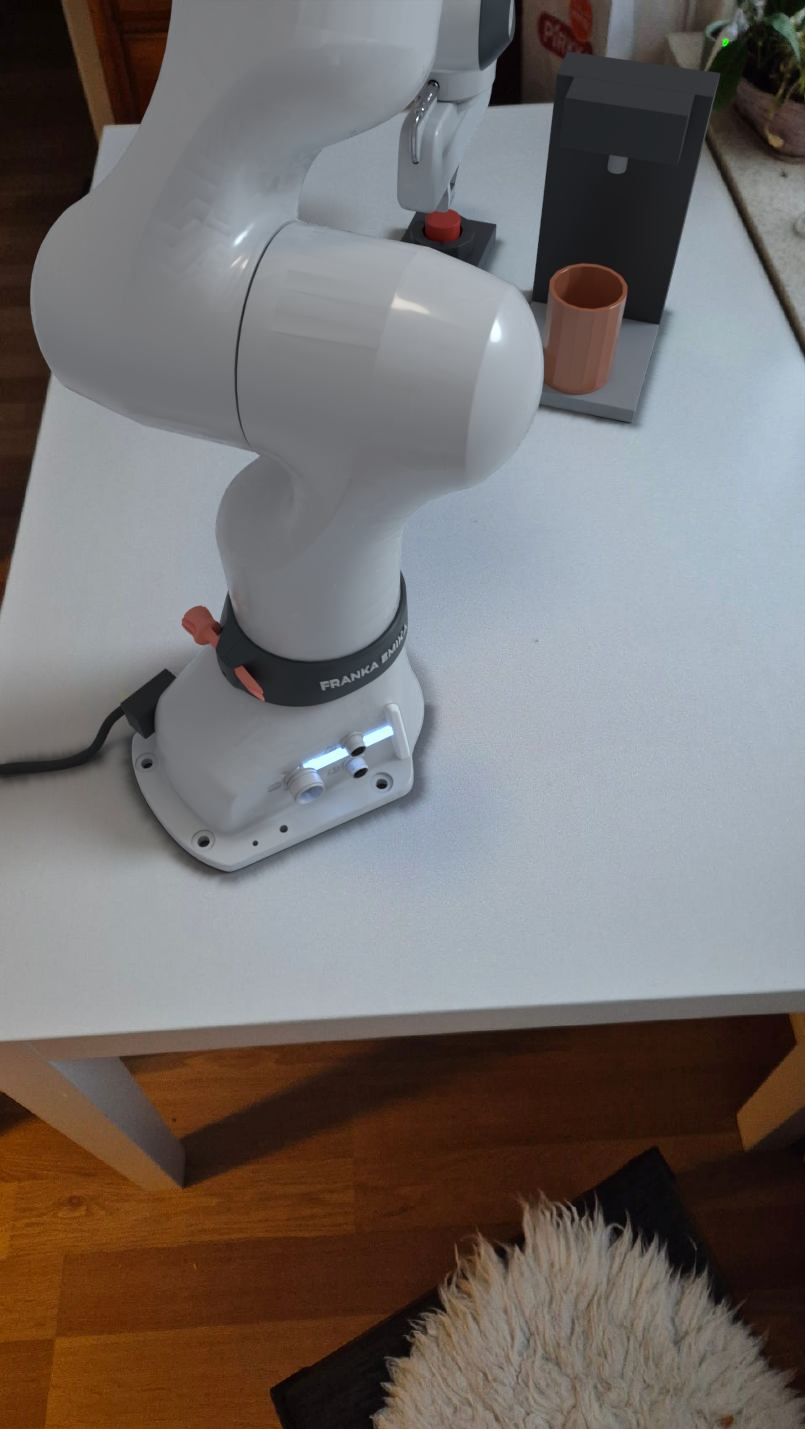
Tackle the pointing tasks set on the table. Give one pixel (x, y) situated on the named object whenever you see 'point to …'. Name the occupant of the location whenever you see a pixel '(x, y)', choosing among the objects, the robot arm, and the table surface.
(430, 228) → the button
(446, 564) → the table surface
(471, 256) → the control block
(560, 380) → the cup
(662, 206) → the coffee maker
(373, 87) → the robot arm
